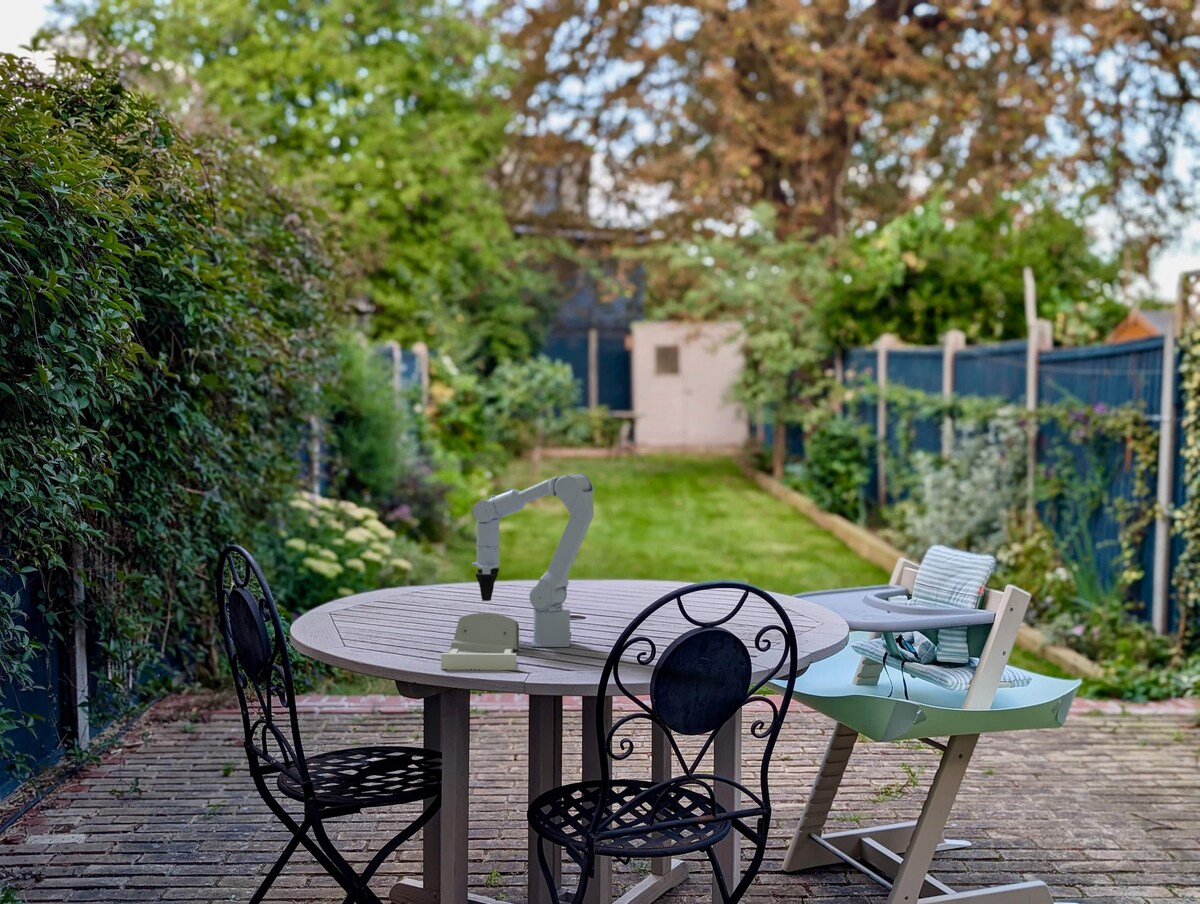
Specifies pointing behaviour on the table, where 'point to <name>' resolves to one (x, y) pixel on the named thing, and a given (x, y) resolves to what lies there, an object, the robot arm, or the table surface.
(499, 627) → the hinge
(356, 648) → the table surface
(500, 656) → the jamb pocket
